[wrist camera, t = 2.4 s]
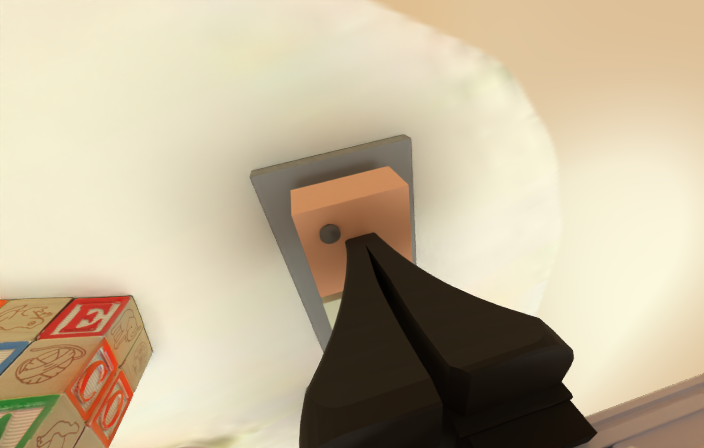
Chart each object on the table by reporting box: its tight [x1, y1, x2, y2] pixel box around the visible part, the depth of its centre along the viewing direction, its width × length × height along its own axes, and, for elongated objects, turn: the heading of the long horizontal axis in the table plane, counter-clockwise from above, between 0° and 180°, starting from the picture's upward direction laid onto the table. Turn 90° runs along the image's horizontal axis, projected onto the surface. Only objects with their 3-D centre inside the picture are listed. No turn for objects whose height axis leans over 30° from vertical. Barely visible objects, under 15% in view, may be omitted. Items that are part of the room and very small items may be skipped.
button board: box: [250, 135, 416, 352], centre depth 18 cm, size 17×9×3 cm, turn 10°
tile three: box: [291, 166, 413, 297], centre depth 13 cm, size 5×5×3 cm
